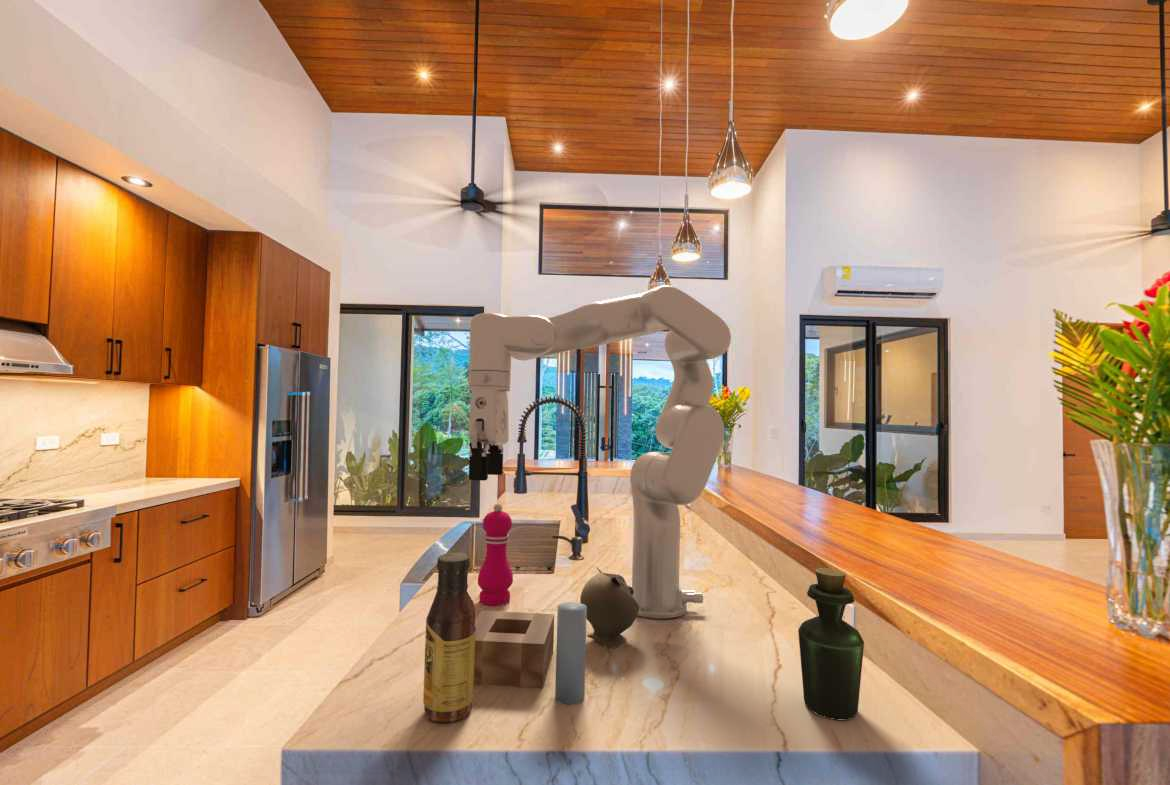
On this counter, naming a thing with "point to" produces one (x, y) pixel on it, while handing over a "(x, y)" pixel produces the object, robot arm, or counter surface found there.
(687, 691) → the counter surface
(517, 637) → the socket block
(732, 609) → the counter surface
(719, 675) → the counter surface
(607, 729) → the counter surface
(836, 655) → the potion bottle
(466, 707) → the sauce bottle
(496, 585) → the pepper mill
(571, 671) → the peg
